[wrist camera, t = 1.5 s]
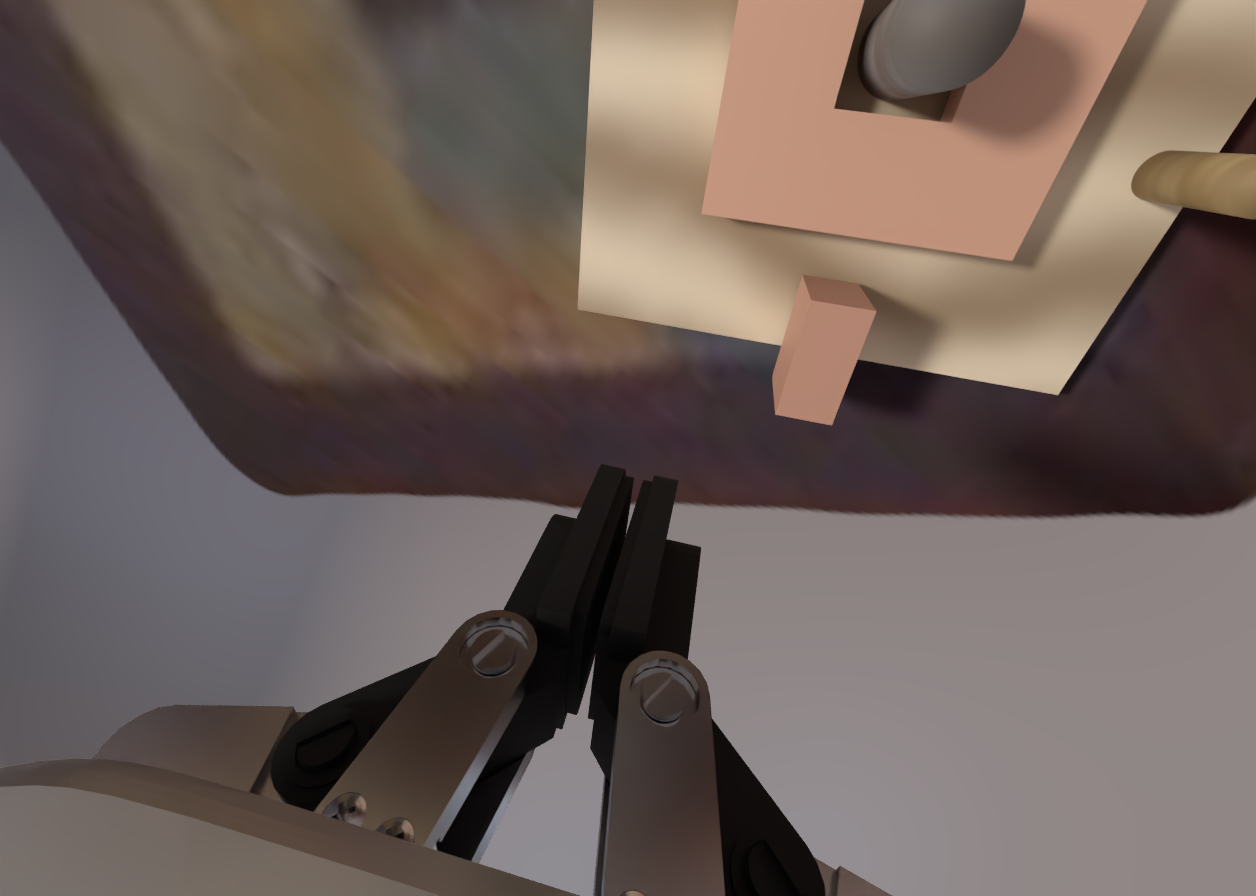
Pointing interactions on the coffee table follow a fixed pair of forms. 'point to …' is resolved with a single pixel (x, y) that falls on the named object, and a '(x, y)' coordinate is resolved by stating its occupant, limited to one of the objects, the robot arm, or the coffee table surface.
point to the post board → (889, 272)
